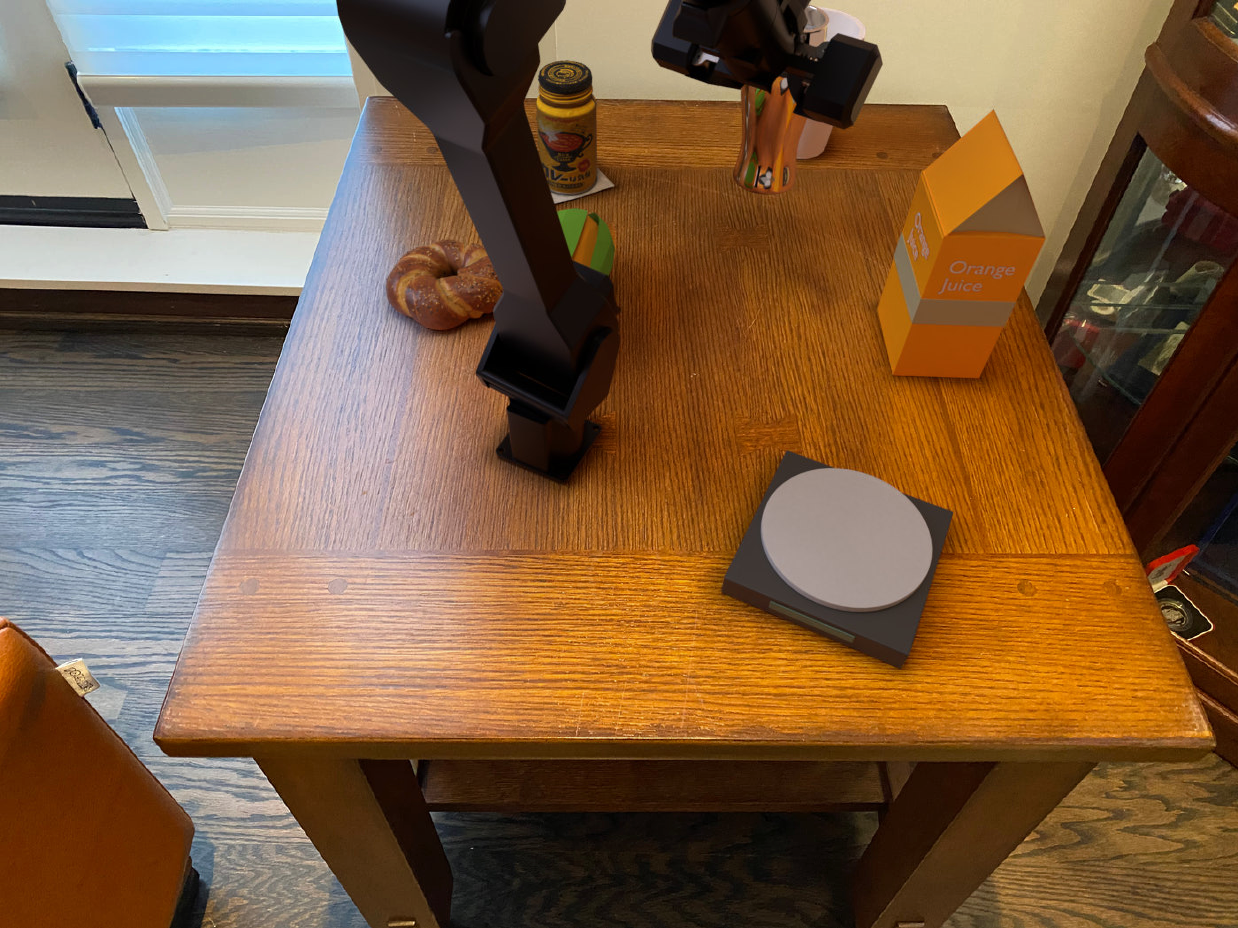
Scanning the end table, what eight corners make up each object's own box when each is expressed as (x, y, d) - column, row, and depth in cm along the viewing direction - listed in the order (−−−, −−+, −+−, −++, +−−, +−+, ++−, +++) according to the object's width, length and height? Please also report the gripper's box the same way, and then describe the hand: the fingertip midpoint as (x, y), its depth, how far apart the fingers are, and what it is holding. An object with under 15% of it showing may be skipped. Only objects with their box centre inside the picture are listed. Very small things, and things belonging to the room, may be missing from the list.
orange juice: (891, 375, 75) (967, 170, 60) (875, 308, 81) (941, 104, 65) (981, 379, 75) (1080, 174, 60) (959, 311, 81) (1045, 108, 65)
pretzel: (507, 250, 86) (504, 218, 83) (527, 322, 79) (524, 290, 76) (384, 267, 84) (376, 234, 81) (393, 342, 77) (385, 310, 74)
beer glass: (800, 163, 86) (831, 3, 75) (800, 201, 81) (832, 36, 70) (730, 157, 86) (750, -4, 75) (725, 194, 82) (746, 29, 71)
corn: (620, 185, 79) (584, 331, 67) (624, 253, 85) (592, 400, 73) (541, 182, 80) (491, 326, 68) (550, 250, 86) (506, 394, 74)
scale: (900, 670, 58) (911, 652, 56) (720, 593, 61) (724, 574, 59) (945, 527, 65) (956, 506, 63) (782, 465, 69) (788, 444, 67)
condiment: (552, 206, 90) (547, 95, 81) (519, 165, 95) (511, 56, 86) (614, 188, 93) (616, 78, 83) (579, 149, 97) (577, 41, 88)
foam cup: (834, 172, 95) (862, 54, 85) (750, 160, 96) (768, 42, 86) (841, 128, 101) (867, 12, 91) (762, 117, 102) (779, 2, 92)
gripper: (908, -66, 60) (921, 39, 74) (679, -123, 66) (732, -17, 81) (834, 90, 62) (861, 162, 76) (618, 19, 68) (681, 98, 83)
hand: (782, 96), depth 79 cm, fingers closed on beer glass, 7 cm apart
